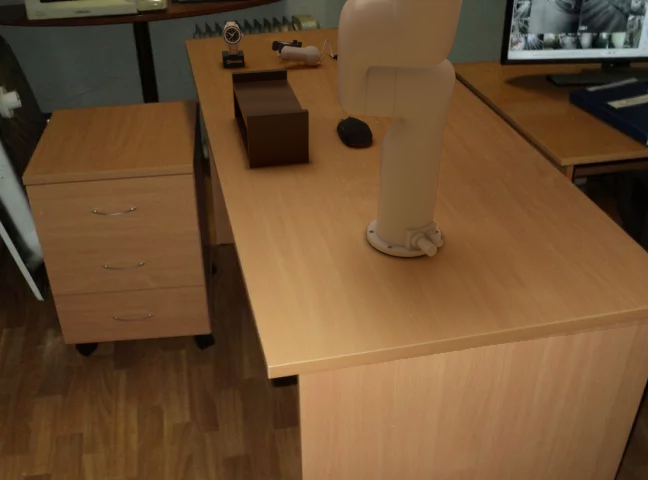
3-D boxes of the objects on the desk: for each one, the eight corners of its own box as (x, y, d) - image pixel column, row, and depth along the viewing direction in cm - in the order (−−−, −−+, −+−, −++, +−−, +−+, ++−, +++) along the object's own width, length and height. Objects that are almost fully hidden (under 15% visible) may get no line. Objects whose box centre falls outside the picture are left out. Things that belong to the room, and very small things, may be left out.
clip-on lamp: (330, 62, 205) (269, 54, 198) (334, 39, 202) (273, 30, 195) (345, 72, 195) (282, 64, 188) (350, 48, 193) (286, 38, 185)
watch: (224, 71, 190) (221, 28, 184) (222, 60, 196) (219, 18, 190) (245, 69, 191) (243, 27, 184) (243, 59, 197) (240, 17, 191)
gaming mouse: (355, 119, 166) (356, 102, 163) (376, 146, 154) (377, 129, 152) (328, 121, 164) (329, 104, 162) (347, 149, 153) (348, 132, 150)
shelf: (308, 162, 148) (308, 111, 141) (249, 168, 145) (246, 116, 139) (287, 115, 167) (286, 68, 161) (234, 119, 165) (231, 72, 158)
